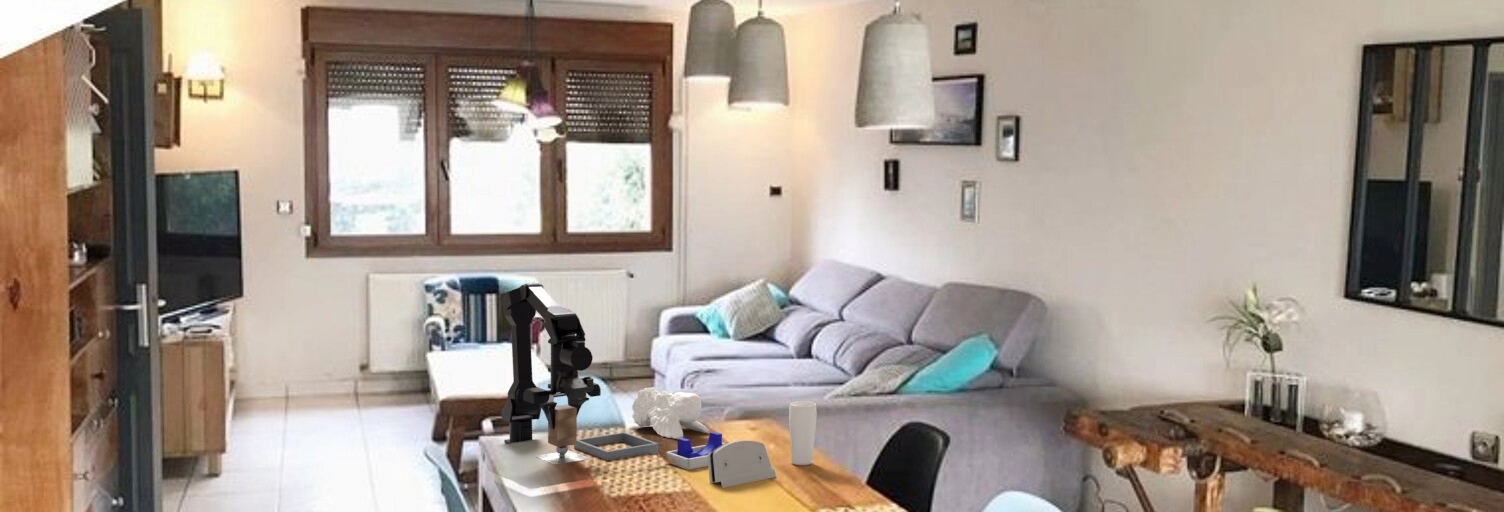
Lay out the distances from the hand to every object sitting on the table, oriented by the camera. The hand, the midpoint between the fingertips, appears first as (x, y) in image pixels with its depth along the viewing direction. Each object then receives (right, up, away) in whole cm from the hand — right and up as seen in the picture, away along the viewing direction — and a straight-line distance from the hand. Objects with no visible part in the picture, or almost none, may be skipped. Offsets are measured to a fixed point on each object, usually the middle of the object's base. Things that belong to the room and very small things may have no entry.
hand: (562, 427), depth 313 cm
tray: (+12, -8, +10) cm, 17 cm away
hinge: (+43, -11, -10) cm, 46 cm away
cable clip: (+34, -9, +7) cm, 36 cm away
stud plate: (0, -9, +1) cm, 9 cm away
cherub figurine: (+24, -6, +37) cm, 45 cm away
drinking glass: (+58, -10, +5) cm, 59 cm away
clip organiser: (+34, -9, +6) cm, 36 cm away
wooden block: (0, -4, 0) cm, 4 cm away
